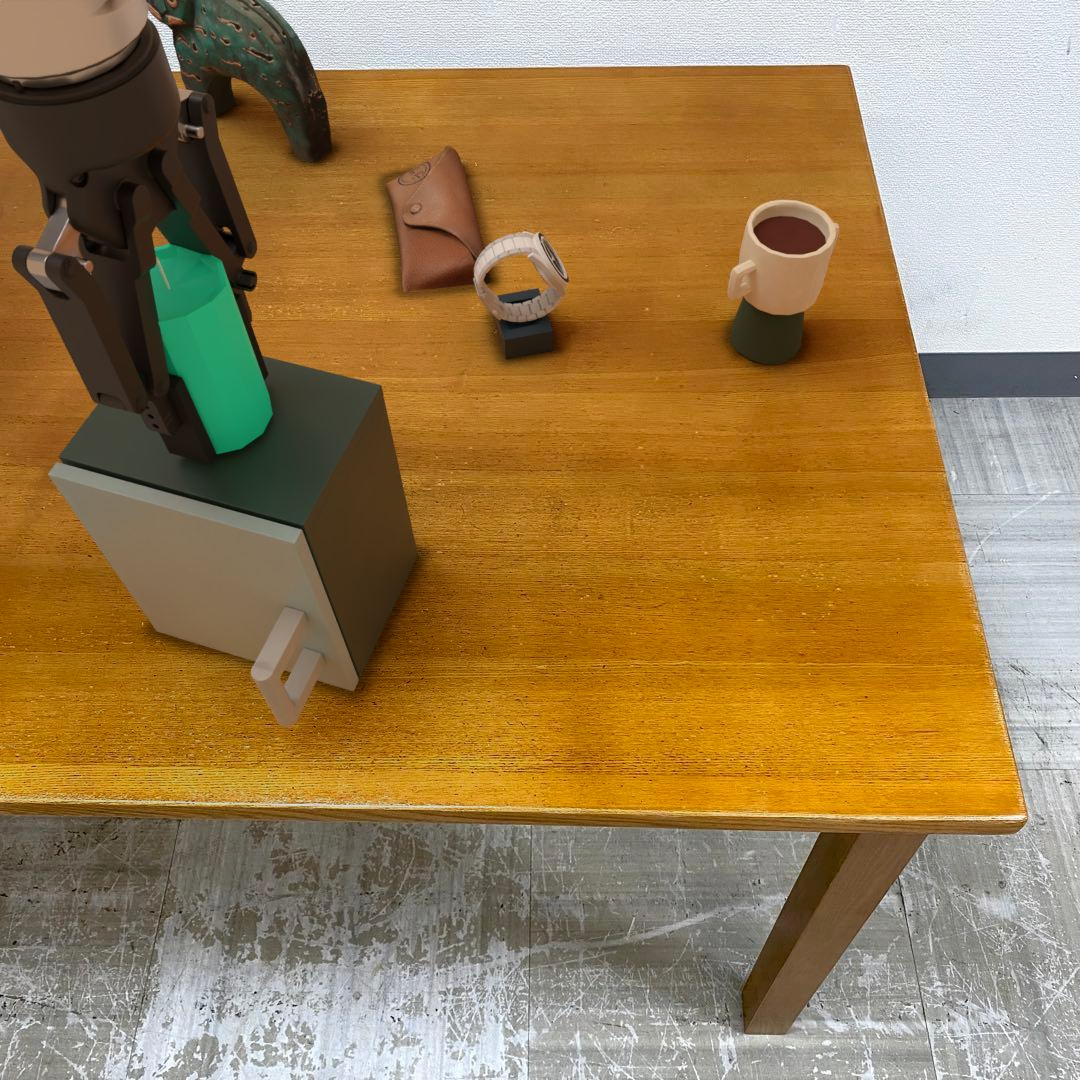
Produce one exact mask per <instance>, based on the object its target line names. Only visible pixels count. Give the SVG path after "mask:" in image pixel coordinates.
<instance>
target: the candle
mask: <svg viewBox="0 0 1080 1080" xmlns="http://www.w3.org/2000/svg"><path fill="white" fill-rule="evenodd" d="M154 249H155V255H156V266H155V267H154V268H152V269H151V270H150V276H151V281H152V287H153V292H154V298H155V303H156V309H157V314H158V319H159V322H158V324H159V326H160V330H161V336H162V341H163V347H164V352H165V358H166V363H167V368H168V374H170V375H174V376H178V377H182V378H183V380H184V383H185V385H186V387H187V389H188V391H189V394H190V396H191V398H192V400H193V403H194V405H195V407H196V409H197V411H198V414H199V416H200V418H201V420H202V422H203V425H204V427H205V429H206V431H207V433H208V436H209V438H210V440H211V442H212V445H213V447H214V449H215V451H216V453H217V454H220V453H225V452H229V451H234V450H238V449H242V448H243V447H245V446H246V445H247V444H249V443H250V442H252V441H253V440H254V439H256V438H257V437H259V436H260V435H262V434H263V432H264V430H265V428H266V426H267V424H268V422H269V420H270V419H271V417H272V415H273V413H272V407H271V402H270V396H269V393H268V390H267V388H266V385H265V382H264V379H263V376H262V373H261V371H260V368H259V365H258V362H257V359H256V356H255V354H254V351H253V348H252V345H251V342H250V339H249V337H248V334H247V331H246V328H245V325H244V323H243V320H242V317H241V314H240V311H239V308H238V306H237V303H236V300H235V297H234V294H233V291H232V289H231V286H230V283H229V280H228V277H227V275H226V272H225V269H224V266H223V263H222V261H221V260H219V259H218V258H216V257H214V256H213V255H206V254H201V253H198V252H195V251H192V250H189V249H186V248H183V247H180V246H177V245H173V244H170V243H166V244H163V245H159V246H154Z"/></svg>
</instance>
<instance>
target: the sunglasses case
mask: <svg viewBox="0 0 1080 1080" xmlns="http://www.w3.org/2000/svg"><path fill="white" fill-rule="evenodd" d="M461 159H462V158H461V157H460V154H459V153H458V151H457V150H456V148H454V147H452V146H450V145H446V146H444V148H443V150H442V152H440V153H438V154H436V155H435V156H433V157H431V158H430V159H428V160H425V161H424V162H422V163H421V164H419V165H417V166H415V167H413V168H411V169H410V170H408V171H406V172H404V173H403V174H401V175H399V176H398V177H396V178H394V179H392V180H391V181H389V182H387V183H386V184H385V189H386V192H387V195H388V198H389V201H390V205H391V209H392V213H393V219H394V224H395V229H396V237H397V241H398V250H399V257H400V268H401V269H400V270H401V282H402V283H401V285H402V292H404V293H408V292H411V291H425V290H426V291H427V290H436V289H444V288H452V287H461V286H468V285H471V286H472V285H475V283H474V280H473V278H475V277H474V266H475V263H476V260H477V258H478V257H479V255H480V254H481V252H482V251H483V250H484V249H485V246H484V242H483V238H482V235H481V230H480V227H479V222H478V218H477V214H476V210H475V206H474V203H473V198H472V195H471V190H470V187H469V182H468V179H467V175H466V172H465V168H464V166H463V163H462V160H461ZM485 274H486V275H485V277H484V282H485V284H486V285H488V284H489V282H490V278H491V274H490V270H489V271H488V272H487V273H485Z"/></svg>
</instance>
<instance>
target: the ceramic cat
mask: <svg viewBox="0 0 1080 1080" xmlns="http://www.w3.org/2000/svg"><path fill="white" fill-rule="evenodd" d="M146 2H147V5H148V8H149V11H148V12H149V13H150V14H151V16H153V18H155V19H156V20H157V21H158V22H159V23H161V24H163V25H165V26H167V27H168V28H169V29H170V30H171V32H172V45H173V48H174V50H175V54H176V58H177V61H178V64H179V69H180V70H179V71H180V77H181V80H182V83H183V85H184V87H185V89H186V90H191V91H195V92H201V93H207V94H210V95H211V96H212V98H213V100H214V104H215V112H216V118H217V117H220V116H221V115H223V114H225V112H227V111H228V110H229V109H230V108H232V107H233V106H235V105H237V100H236V98H235V94H234V92H233V87H232V86H233V85H232V79H236V80H239V81H242V82H244V83H246V84H248V85H249V86H250V87H252V88H253V89H254V90H256V91H257V92H258V93H259V94H260V95H261V96H263V97H264V99H266V101H267V102H268V104H269V105H270V106H271V107H272V109H273V111H274V113H275V114H276V116H277V118H278V120H279V121H280V124H281V126H282V128H283V131H284V133H285V135H286V137H287V139H288V142H289V144H290V146H291V149H292V151H293V153H294V155H295V157H297V158H298V159H300V160H302V161H304V162H306V163H312V164H315V163H318V162H319V161H320V160H321V159H322V158H324V157H326V155H328V154H329V153H330V152H332V151H333V146H332V136H331V135H332V134H331V125H330V119H329V111H328V103H327V100H326V96H325V94H324V92H323V90H322V88H321V86H320V83H319V80H318V76H317V73H316V70H315V68H314V66H313V63H312V61H311V59H310V56H309V54H308V51H307V49H306V47H305V46H304V44H303V42H302V41H301V39H300V37H299V36H298V34H297V32H296V31H295V30H294V28H293V27H292V26H291V25H290V23H289V22H288V21H287V20H286V19H285V18H284V17H283V16H282V14H281V13H280V12H279V11H278V10H277V9H276V8H275V7H274V6H273V5H272V4H271V3H270V2H268V1H267V0H146Z"/></svg>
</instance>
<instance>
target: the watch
mask: <svg viewBox="0 0 1080 1080" xmlns="http://www.w3.org/2000/svg"><path fill="white" fill-rule="evenodd" d="M520 255H522V256H524V255H527V258H528V260H529V261H530V262H531V263H532V265H533V267H534V268H535V270H536V272H537V273H538V275H539V276H540V278H541V279H542V281H543V282H544V283H545V284H546V285H547V286H548V287H547V288H546V289H545V290H544V291H543V292H542V293H541V291H540V289H539V287H537V288H531V289H525V290H519V291H514V292H508V293H502V294H495V293H494V292H493V291H492V290H491V289H490V287H488V284H485V283H486V282H484V277H485V275H486V274H485V273H487V272H488V271H489V272H490V270H491V269H493V268H494V267H495V266H496V265H498V264H499V263H500V262H501V261H502V262H503V261H505V260H506V259H509V258H510V257H511V258H512V257H516V256H520ZM474 277H475V278H473V280H474V283H475V284H474V287H475V290H476V294H477V296H478V299H479V300H480V302H481V303H482V305H483V306H484V308H485V309H486V310H487V311H488V312H489V313H490V314H491V315H492V317H493V321H494V324H495V328H496V331H497V334H498V335H497V336H498V338H499V341H500V345H501V349H502V352H503V355H504V358H505V360H510V359H517V358H522V357H527V356H533V355H537V354H542V353H548V352H553V351H554V330H553V326H552V324H551V321H550V317H549V315H548V314H550V313H551V312H552V311H554V310H555V309H556V308H557V307H558V306H559V305H560V303H561V302H562V300H563V298H564V297H565V296H566V295H567V287H566V286H567V285H569V284H570V279H569V275H568V272H567V269H566V267H565V265H564V264H563V262H562V260H561V257H560V256H559V254H558V253H557V251H556V250H555V248H554V246H553V245H552V243H551V242H550V241H549V240H548V238H547V237H546V236H545V235H544V234H543V233H541V232H539V231H538V232H536V233H532V232H530V231H526V230H525V231H524V230H523V231H522V232H517V233H510V234H507V235H504V236H501V237H499V238H497V239H495V240H494V241H492V242H490V243H489V244H488V245H486V246H485V247H484V250H483V251H482V252H481V254H480V255H479V257H478V258H477V260H476V263H475V266H474Z"/></svg>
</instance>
